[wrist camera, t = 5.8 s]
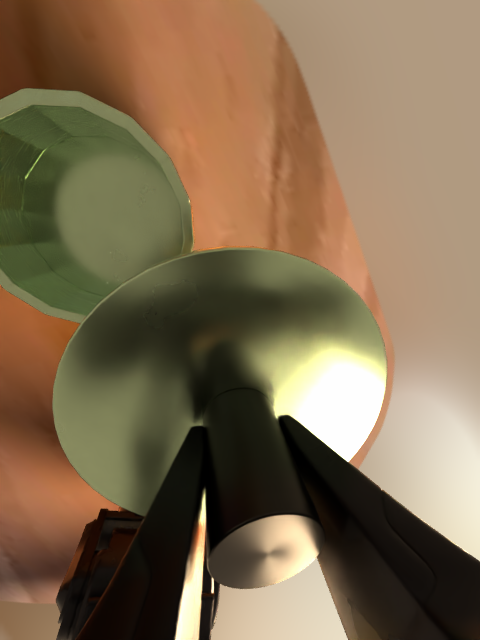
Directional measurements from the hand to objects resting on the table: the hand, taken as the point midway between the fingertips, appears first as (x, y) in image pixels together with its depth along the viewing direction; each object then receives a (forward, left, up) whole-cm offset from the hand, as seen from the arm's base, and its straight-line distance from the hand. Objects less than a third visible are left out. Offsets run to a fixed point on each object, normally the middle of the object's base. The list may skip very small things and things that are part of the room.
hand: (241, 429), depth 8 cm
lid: (0, 0, -1) cm, 1 cm away
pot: (+4, +9, -13) cm, 16 cm away
